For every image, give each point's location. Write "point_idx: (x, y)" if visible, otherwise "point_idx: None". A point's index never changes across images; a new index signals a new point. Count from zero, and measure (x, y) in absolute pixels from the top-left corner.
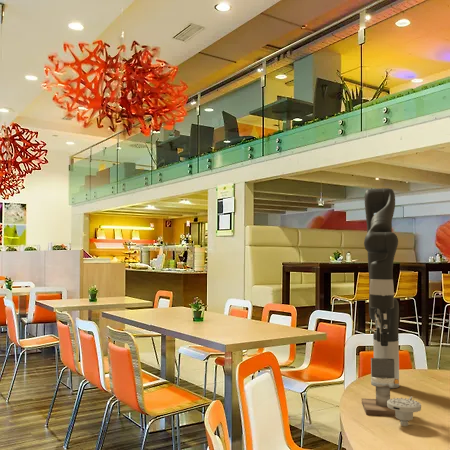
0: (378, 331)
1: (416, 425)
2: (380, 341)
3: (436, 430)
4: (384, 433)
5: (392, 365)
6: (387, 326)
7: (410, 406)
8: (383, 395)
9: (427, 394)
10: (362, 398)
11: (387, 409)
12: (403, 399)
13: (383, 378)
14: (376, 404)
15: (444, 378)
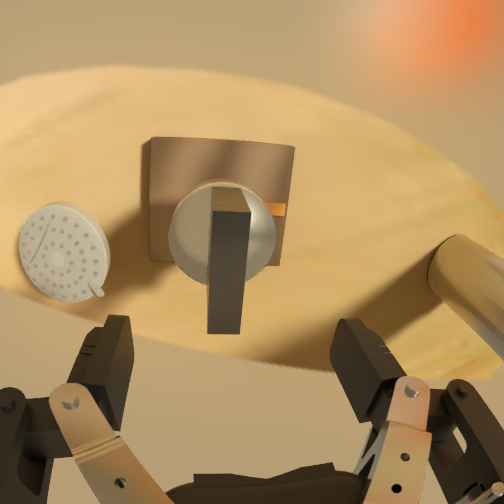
0: (372, 384)
1: None
2: (115, 332)
3: None
4: (14, 171)
5: (207, 308)
6: (28, 479)
7: (25, 266)
8: None
9: None
10: (293, 150)
11: (165, 208)
12: (72, 262)
13: (183, 235)
14: None
15: (458, 378)
